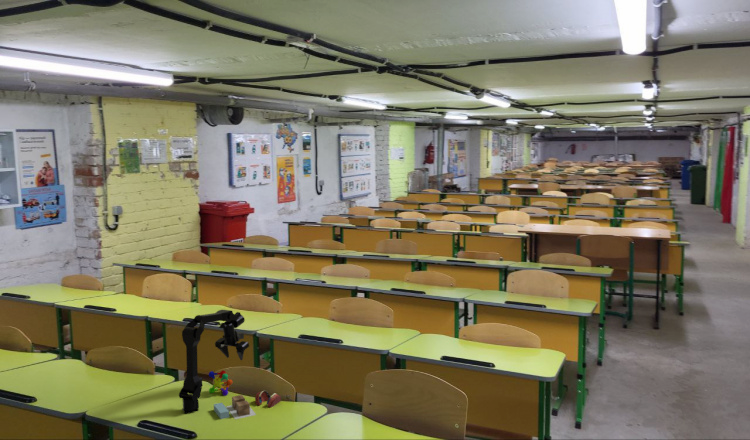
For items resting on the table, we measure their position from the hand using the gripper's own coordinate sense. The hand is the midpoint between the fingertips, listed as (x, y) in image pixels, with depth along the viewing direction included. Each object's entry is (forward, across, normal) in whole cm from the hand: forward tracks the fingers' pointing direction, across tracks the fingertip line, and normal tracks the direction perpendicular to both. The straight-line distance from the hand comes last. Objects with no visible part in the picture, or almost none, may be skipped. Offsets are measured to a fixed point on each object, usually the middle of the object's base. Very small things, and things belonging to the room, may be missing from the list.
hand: (234, 358), depth 312 cm
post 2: (+8, -27, +29) cm, 41 cm away
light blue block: (+8, -18, +33) cm, 39 cm away
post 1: (+9, -21, +24) cm, 33 cm away
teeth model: (+12, -30, +14) cm, 36 cm away
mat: (+9, -24, +27) cm, 37 cm away
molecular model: (+13, +1, +14) cm, 19 cm away
